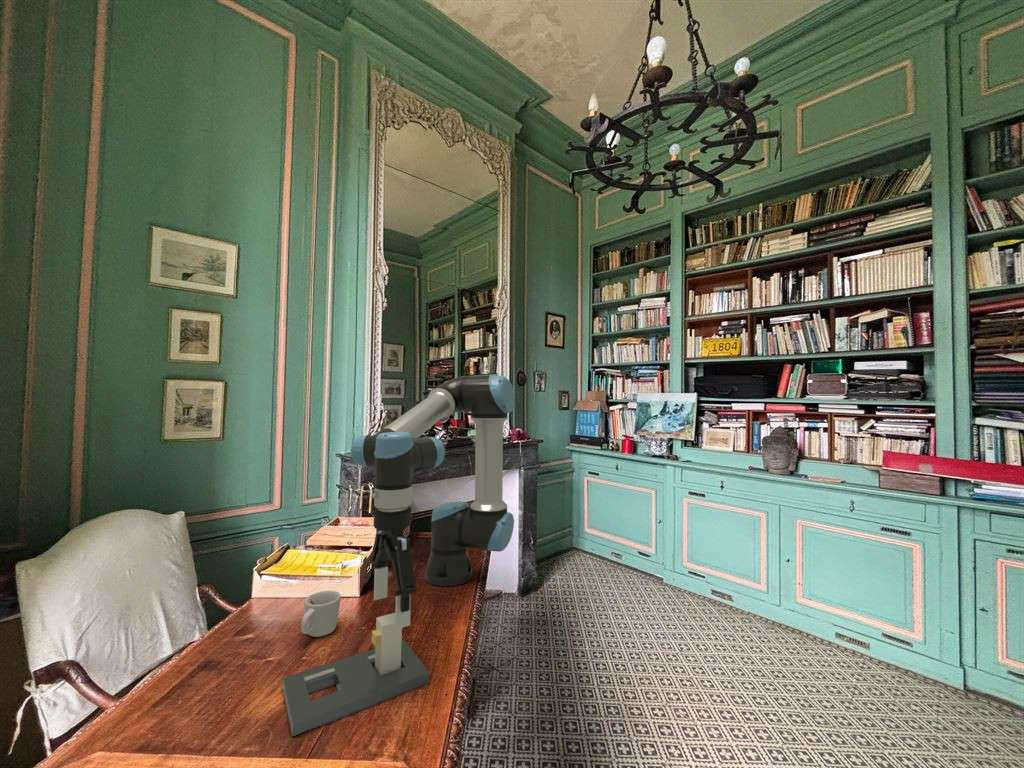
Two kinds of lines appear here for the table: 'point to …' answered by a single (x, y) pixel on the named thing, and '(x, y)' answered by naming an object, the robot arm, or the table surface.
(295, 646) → the table surface
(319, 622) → the cup
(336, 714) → the panel
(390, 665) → the plug
